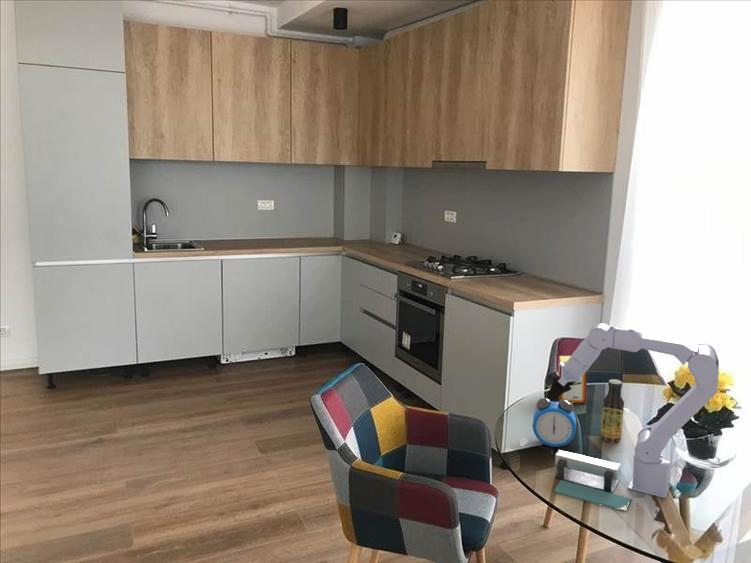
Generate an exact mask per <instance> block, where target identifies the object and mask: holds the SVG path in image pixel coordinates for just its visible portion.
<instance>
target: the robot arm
mask: <svg viewBox="0 0 751 563" xmlns="http://www.w3.org/2000/svg"><path fill="white" fill-rule="evenodd" d="M607 348H610V349H615V350H621V351H627V352H632V353H637V352H638V351H640V350H642V349H643V350H646V351H651V352H654V353H655V352H657V353H661V354H665V355H669V356H674V357H675V358H676V359H677V360H678V361H679V363H681V365H683V366H685V365H686V363H687V368H688V370H689V372H690V374H691V375H692V377H693V378H694V383H695V384H693V386H692V387H691V388H690V389H689V390H688V391H687V392H686V393H685V394H684V395H682V397H681V398H680V399H678V400H677V402H676V403H675V404H674V405H673V406H672V407H670V409H669V410H668V411H667V412H666V413H665V414H664V415H662V417H661V418H660V419H659V420H657V421H656V422H653V423H652V424H651V425H649V426H648V427H645V428H641V429H640V431H638V434H637V441H636V444H635V447H634V452H633V463H632V464H633V466H632V479H631V480H630V483H629V485H628V487H627V488H628V489H629V490H632V491H636V492H640V493H644V494H648V495H651V496H655V495H656V496H655V497H660V498H663V499H665V498H667V494H668V492H669V490H670V487H671V473H672V461H670V460H668V459H665V458H663V455H662V452H663V450H664V449H665V448H666V446H667V445H668V442H670V440H671V439H672V437H673V436H674V435H675V434H676V433H678V431H680V430H681V428H683V427H684V425H686V423H688V422H689V421H690V420H691V419H692V418H693V417H694V416H695V415H696V414H697V413H698V412H699V411H700V410H701V409H702V408H703V407H704V406H705V405H706V404H707V403H708V402H709V401H710V400H711V399H713V397H714V396H715V395H716V394H717V392H718V388H719V387H718V386H719V377H720V376H719V374H720V366H719V365H720V364H719V363H720V361H719V357H718V354H717V352H716V350H715V347H713V346H712V345H710V344H707V343H706V342H705V343H704V342H702V343H701V342H700V343H699V342H698V341H694V340H683V339H681V340H680V339H671V338H662V337H654V336H645V335H643V334H642V333H641V331H640V330H636V329H635V327H629V328H621V327H616V326H615V325H612V324H610V325H608V324H606V323H602V322H601V323H599V322H598V323H596V324H594V325H592V327H591V329H590V331H589V334H588V335H587V336H585V338H584V340H583V341H581V342H580V343H579V345H578V346H577V348H576V349H575V350H574V351H573V352H572V354H571V355H570V356H571V357H570V358H569V359H568V361H567V362H566V363H565V364H564V363H563V362H561V363H560V364H559V366H560V367H561V378H560V377H559V376H558V374H554V375H553V377H552V381H551V383H552V384H551V386H550V389H549V391H548V393H547V396H546V398H547V399H549V400H550V401H557V400H558V397H559V396H560V395H561V394H563V393H565V392H567V391H569V390H571V389H572V388H571V387H570V385H572V384H573V383H575V382H577V381H580V380H581V378H582V376H583V375H584V374H585V372H586V371H587V372H588V370H589V368H590V367H591V366H592V365H593V364H594V363H595V361H596V360H597V359H598V357H599V356H600V354H601V352H602V351H603V350H606V349H607Z"/></svg>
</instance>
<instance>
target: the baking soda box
mask: <svg viewBox="0 0 751 563" xmlns="http://www.w3.org/2000/svg"><path fill="white" fill-rule="evenodd" d="M570 357H571V355H558V362H557V365H558V367H557V368H558V370H557V371H558V373H557V375H558V376H559V377H560V378H561V367H560V366H559V364H560V363H561V362H563V363H564V364H565V363H566V362H567V361H568V359H569V358H570ZM587 382H588V370H587V371H586V372H585V374H584V375H583V376H582V378H581V380H580V381H577V382H575V383H573V384H572V385H570V387H571V388H572V389H571V390H569V391H567V392H565V393H563V394H561V395H560V396H559V400H558V402H559V401H560V400H563V399H565V400H568V401H570V402H574V403H573V404H578V403H586V404H587V392H588V389H587V388H588V385H587V384H588V383H587Z"/></svg>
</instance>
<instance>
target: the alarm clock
mask: <svg viewBox="0 0 751 563" xmlns="http://www.w3.org/2000/svg"><path fill="white" fill-rule="evenodd" d="M535 407H536V409H535V411H534V414H533V417H532V430H533V434H534V435H535V437H536V438H537V440H539V441H540V442H541V443H542V446H544V445H545V446H549V447H553V448H556V447H558V448H559V447H564V448H566V445H568V444H570V443H571V442H572V441H573V439H574V438H575V435H576V432H577V419H576V415H575V413H574V403H571V402H570V401H568V400H565V399H563V400H560V401H559V400H558V401H557V400H554V401H551V400H550V399H549V398H547V397H541V398H539V399H538V400H537V401H536V404H535Z"/></svg>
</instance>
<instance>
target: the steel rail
mask: <svg viewBox="0 0 751 563" xmlns="http://www.w3.org/2000/svg"><path fill="white" fill-rule="evenodd" d="M554 459H555V460H554V464H555V466H557V462H558V460H559V461H563V462H565V467H567V468H570V469H573V470H577V471H581V472H584V473H588V474H592V475H596V476H600V477H604V473H605V472H608V473H612V474H613V479H614V480H617V481H618V479H619V476H620V472H621V470H620V468H621V463H616V462H612V461H608V460H603V459H599V458H595V457H591V456H588V455H587V456H586V455H583V454H578V453H574V452H569V451H565V450H561V449H558V450H557V452H556V453H555V458H554Z"/></svg>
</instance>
